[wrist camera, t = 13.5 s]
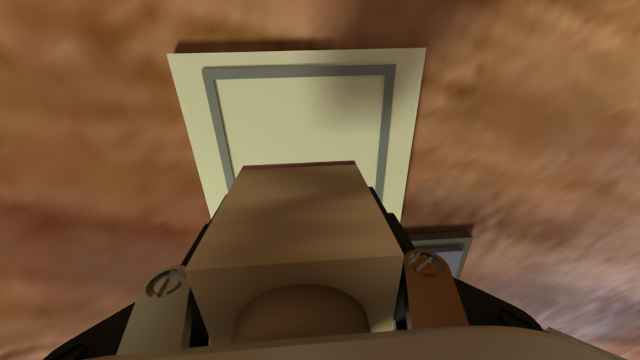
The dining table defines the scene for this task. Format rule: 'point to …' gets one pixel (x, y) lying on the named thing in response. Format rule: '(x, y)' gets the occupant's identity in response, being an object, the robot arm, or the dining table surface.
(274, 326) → the stamp
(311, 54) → the board
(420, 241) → the grey flat block
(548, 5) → the dining table surface
